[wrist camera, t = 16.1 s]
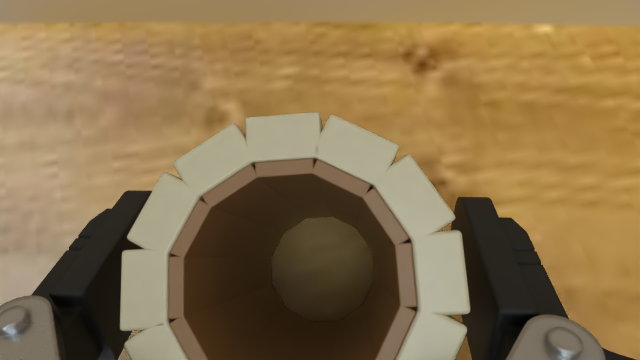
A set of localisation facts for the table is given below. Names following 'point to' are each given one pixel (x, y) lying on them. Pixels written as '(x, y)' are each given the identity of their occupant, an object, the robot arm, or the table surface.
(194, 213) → the wooden cup
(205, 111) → the table surface
